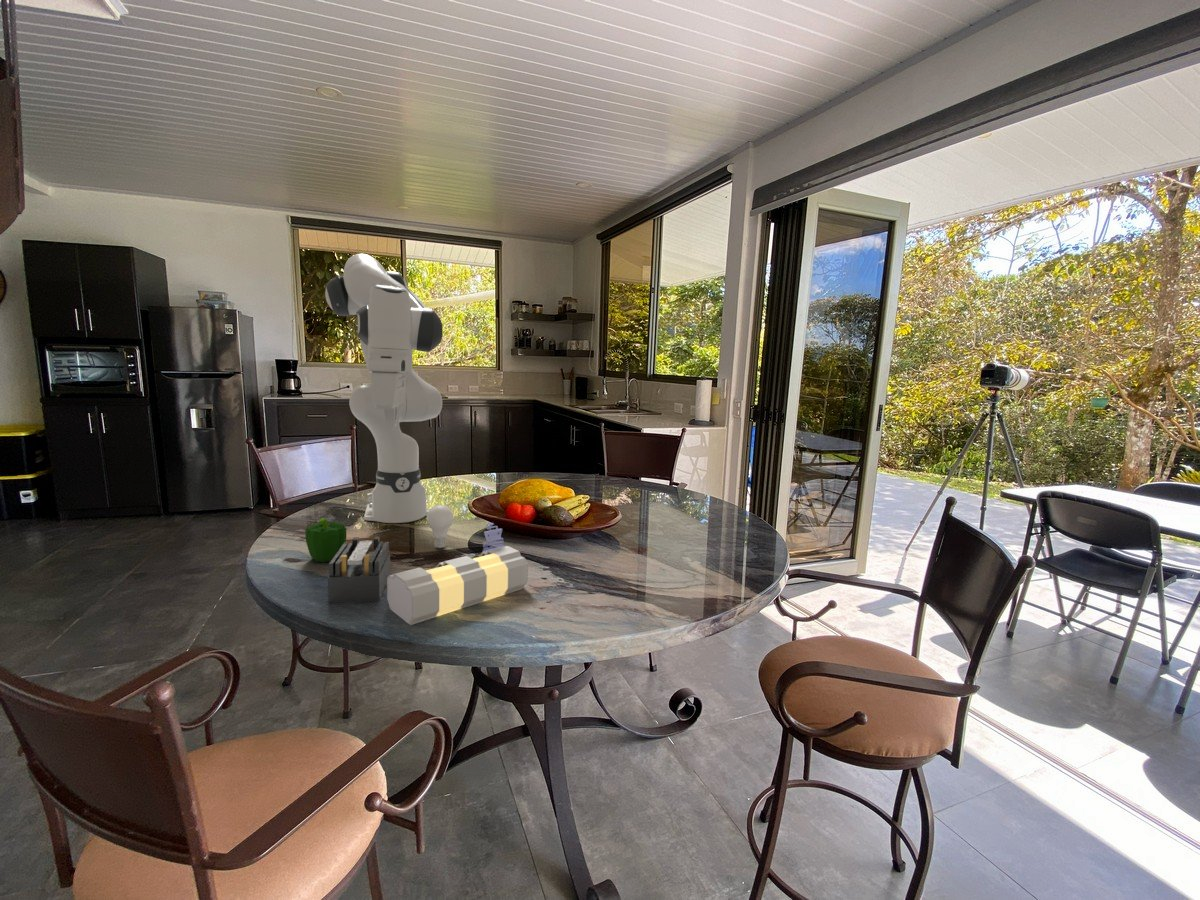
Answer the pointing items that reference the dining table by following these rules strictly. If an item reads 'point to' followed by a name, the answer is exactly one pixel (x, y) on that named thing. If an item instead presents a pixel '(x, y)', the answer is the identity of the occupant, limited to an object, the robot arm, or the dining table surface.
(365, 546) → the grey slab
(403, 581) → the grey yellow striped block
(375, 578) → the dark grey slotted box
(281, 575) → the dining table surface
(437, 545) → the lightbulb
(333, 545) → the bell pepper
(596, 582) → the dining table surface
